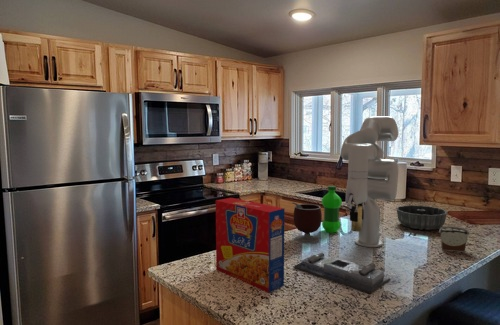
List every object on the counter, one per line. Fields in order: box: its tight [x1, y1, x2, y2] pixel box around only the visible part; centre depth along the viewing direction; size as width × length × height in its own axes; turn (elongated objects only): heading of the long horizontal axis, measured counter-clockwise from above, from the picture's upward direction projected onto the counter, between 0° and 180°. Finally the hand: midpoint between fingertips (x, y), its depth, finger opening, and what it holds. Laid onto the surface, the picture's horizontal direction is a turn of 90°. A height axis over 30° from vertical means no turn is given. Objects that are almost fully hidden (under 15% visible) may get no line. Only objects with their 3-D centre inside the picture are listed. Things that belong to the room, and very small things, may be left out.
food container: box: [438, 225, 470, 253], centre depth 162 cm, size 12×6×10 cm, turn 74°
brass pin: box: [350, 205, 362, 233], centre depth 141 cm, size 4×4×10 cm
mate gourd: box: [291, 201, 323, 245], centre depth 175 cm, size 16×14×20 cm
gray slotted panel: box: [293, 252, 391, 295], centre depth 134 cm, size 16×32×6 cm, turn 45°
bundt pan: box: [395, 204, 448, 231], centre depth 200 cm, size 26×26×10 cm
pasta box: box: [215, 197, 285, 294], centre depth 130 cm, size 28×8×28 cm, turn 45°
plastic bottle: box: [321, 185, 343, 234], centre depth 189 cm, size 10×10×25 cm
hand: (356, 219), depth 141 cm, fingers closed on brass pin, 4 cm apart
